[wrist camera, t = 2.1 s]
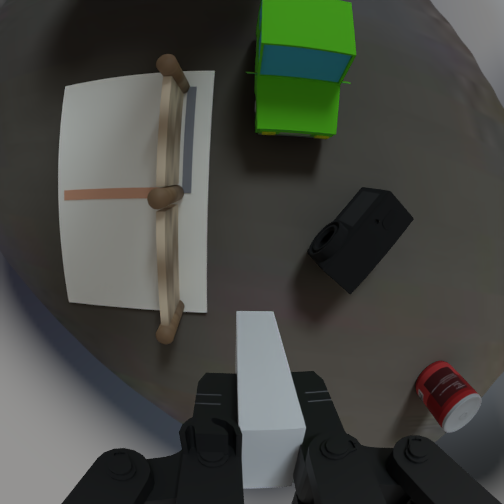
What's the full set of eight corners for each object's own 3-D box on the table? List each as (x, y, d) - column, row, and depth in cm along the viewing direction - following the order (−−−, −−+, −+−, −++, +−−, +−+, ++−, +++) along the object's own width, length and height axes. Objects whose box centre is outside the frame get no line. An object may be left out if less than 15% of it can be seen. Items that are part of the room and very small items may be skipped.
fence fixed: (174, 80, 28) (157, 54, 21) (190, 79, 28) (177, 53, 21) (167, 201, 32) (147, 209, 24) (183, 201, 32) (167, 209, 24)
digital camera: (356, 178, 33) (383, 180, 26) (385, 209, 34) (415, 218, 27) (298, 245, 35) (313, 262, 28) (330, 273, 36) (350, 295, 29)
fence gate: (167, 204, 31) (148, 212, 24) (183, 204, 32) (168, 212, 25) (170, 312, 35) (156, 343, 28) (184, 313, 35) (174, 344, 28)
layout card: (67, 87, 28) (64, 86, 27) (214, 72, 29) (214, 70, 28) (70, 300, 35) (68, 302, 34) (207, 310, 36) (206, 313, 35)
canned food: (432, 396, 43) (461, 432, 32) (405, 392, 42) (434, 433, 31) (455, 362, 41) (489, 396, 31) (430, 356, 40) (466, 394, 30)
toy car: (243, 137, 31) (245, 122, 22) (246, 33, 28) (250, -11, 18) (333, 143, 32) (369, 133, 22) (331, 42, 28) (361, 5, 19)
